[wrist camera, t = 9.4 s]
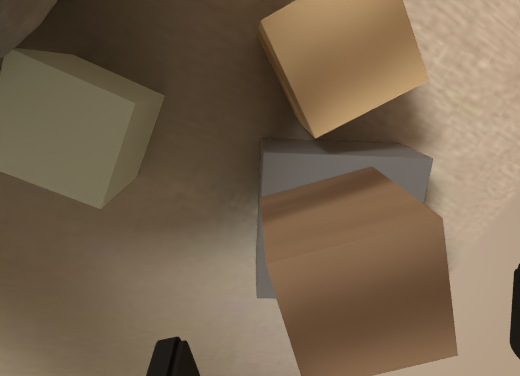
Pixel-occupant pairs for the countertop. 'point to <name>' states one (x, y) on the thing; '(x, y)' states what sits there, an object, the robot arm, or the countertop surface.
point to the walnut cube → (358, 275)
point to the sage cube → (72, 125)
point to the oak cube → (341, 57)
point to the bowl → (20, 20)
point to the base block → (330, 175)
